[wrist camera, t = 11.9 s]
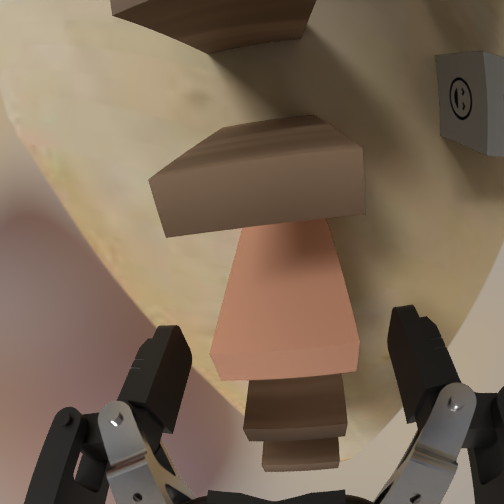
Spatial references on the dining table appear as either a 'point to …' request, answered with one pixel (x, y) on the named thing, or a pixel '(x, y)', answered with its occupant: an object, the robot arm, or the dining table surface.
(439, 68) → the dice cube
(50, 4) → the dining table surface
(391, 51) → the dining table surface
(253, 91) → the dining table surface
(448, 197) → the dining table surface
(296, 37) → the domino
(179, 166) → the domino
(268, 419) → the domino
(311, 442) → the domino
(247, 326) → the domino
